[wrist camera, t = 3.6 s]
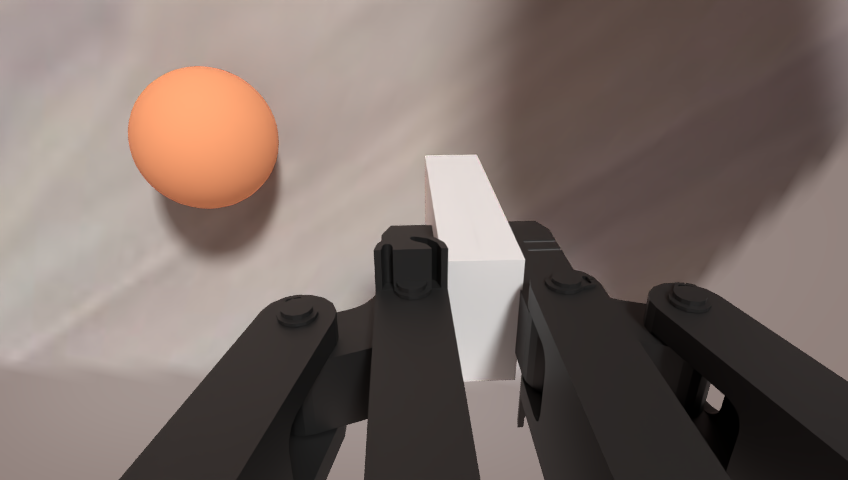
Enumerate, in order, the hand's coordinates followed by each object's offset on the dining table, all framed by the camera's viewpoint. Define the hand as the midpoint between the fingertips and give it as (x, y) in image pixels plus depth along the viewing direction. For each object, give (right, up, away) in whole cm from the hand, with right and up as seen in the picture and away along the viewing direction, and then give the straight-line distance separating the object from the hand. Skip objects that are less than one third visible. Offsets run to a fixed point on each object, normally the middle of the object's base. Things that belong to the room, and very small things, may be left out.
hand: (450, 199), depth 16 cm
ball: (-9, +3, +6) cm, 11 cm away
